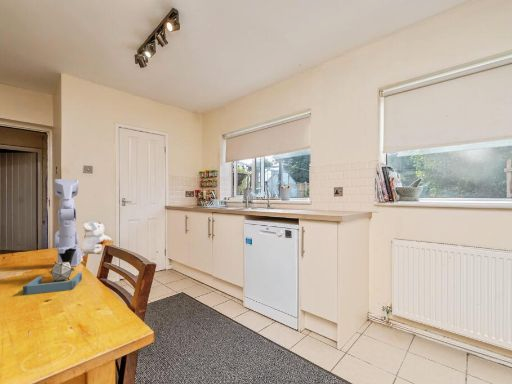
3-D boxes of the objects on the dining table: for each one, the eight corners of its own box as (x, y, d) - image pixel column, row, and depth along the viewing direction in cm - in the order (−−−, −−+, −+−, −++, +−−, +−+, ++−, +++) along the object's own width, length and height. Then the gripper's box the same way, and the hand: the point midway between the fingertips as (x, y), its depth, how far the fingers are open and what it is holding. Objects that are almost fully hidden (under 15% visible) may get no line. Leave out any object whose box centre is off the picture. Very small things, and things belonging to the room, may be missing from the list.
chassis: (82, 279, 106) (82, 272, 106) (72, 289, 95) (72, 281, 95) (38, 284, 101) (38, 276, 101) (22, 295, 90) (22, 286, 90)
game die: (56, 290, 104) (41, 271, 104) (77, 277, 111) (63, 259, 111) (60, 283, 99) (45, 264, 99) (82, 270, 106) (68, 252, 106)
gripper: (72, 237, 105) (72, 270, 105) (82, 232, 119) (82, 261, 119) (51, 238, 103) (51, 271, 103) (65, 233, 116) (65, 262, 116)
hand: (67, 266), depth 111 cm, fingers closed
